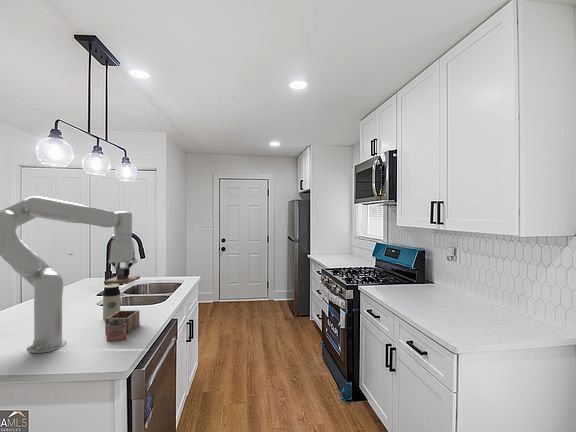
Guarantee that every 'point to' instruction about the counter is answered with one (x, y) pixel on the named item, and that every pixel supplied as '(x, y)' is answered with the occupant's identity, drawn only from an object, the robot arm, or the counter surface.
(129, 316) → the box
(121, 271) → the lid
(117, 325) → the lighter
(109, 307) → the travel mug
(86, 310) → the counter surface
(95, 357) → the counter surface
